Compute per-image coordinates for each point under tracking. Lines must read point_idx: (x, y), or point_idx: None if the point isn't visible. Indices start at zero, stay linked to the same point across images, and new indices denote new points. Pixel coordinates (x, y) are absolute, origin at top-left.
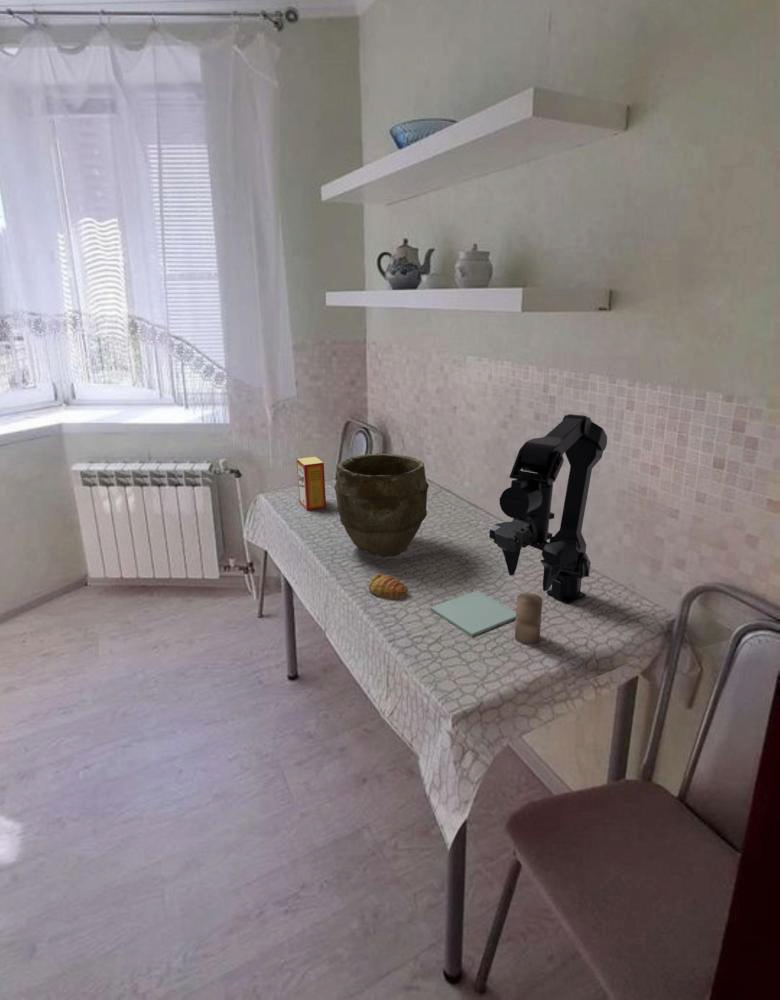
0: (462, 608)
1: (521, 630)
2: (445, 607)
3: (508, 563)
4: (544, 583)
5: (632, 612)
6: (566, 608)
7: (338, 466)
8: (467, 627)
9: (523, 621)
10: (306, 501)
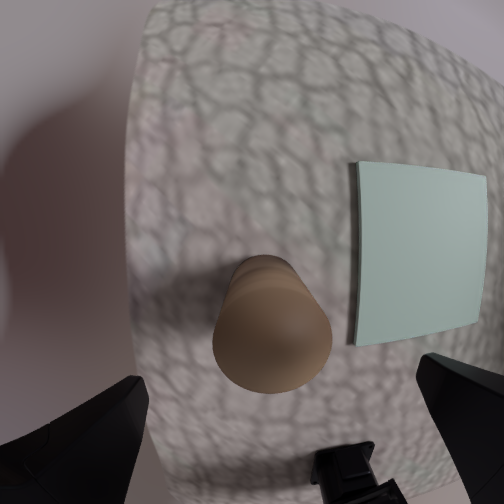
0: (456, 235)
1: (255, 262)
2: (474, 204)
3: (480, 380)
4: (103, 399)
5: (218, 493)
6: (305, 442)
7: None
8: (389, 176)
9: (250, 271)
10: None
